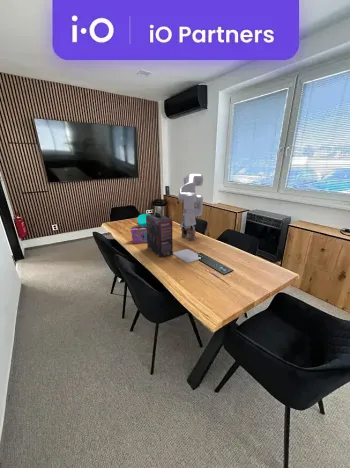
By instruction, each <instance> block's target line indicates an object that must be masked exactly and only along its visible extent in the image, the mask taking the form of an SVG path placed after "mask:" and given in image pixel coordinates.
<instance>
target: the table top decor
mask: <svg viewBox="0 0 350 468" xmlns="http://www.w3.org/2000/svg"><path fill="white" fill-rule="evenodd" d="M146 215H152V214H150V213H143V214H139V215H138V217H137V218H136V219H137V224H138V225H139V227H146Z"/></svg>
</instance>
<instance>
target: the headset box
mask: <svg viewBox="0 0 350 468" xmlns="http://www.w3.org/2000/svg"><path fill="white" fill-rule="evenodd" d="M146 226H147V242H146V245H147V249H148V250H150V251H151V252H153V254H154V255H155V254H156V255H157V256H158V257H159V258H163V257H167V256H171V255H174V254H173V253H174V252H173V251H174V250H173V248H174V247H173V219H172V218H169V217H167V216H165V215H162V214H160V213H158V212H155V211H154V214H151V215H146Z"/></svg>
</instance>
